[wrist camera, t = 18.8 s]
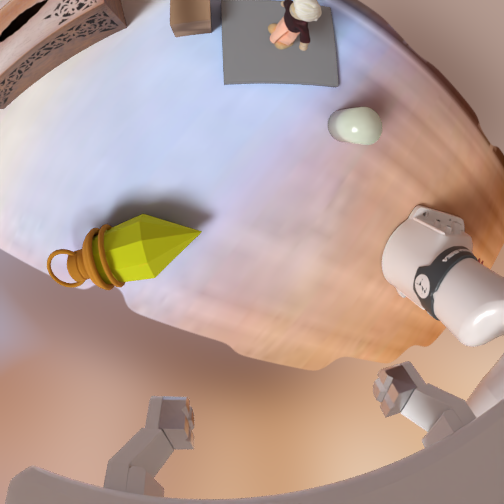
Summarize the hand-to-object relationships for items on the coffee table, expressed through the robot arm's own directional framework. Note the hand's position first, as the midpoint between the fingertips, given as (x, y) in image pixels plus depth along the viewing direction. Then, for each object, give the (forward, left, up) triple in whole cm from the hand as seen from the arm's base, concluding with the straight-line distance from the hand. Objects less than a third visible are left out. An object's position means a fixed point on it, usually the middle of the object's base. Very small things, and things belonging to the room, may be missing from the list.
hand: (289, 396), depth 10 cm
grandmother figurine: (-7, -24, -31) cm, 40 cm away
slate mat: (-7, -24, -32) cm, 41 cm away
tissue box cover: (+29, -33, -32) cm, 55 cm away
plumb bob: (+17, +4, -32) cm, 37 cm away
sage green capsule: (-16, -11, -32) cm, 37 cm away
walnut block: (+5, -28, -32) cm, 43 cm away
